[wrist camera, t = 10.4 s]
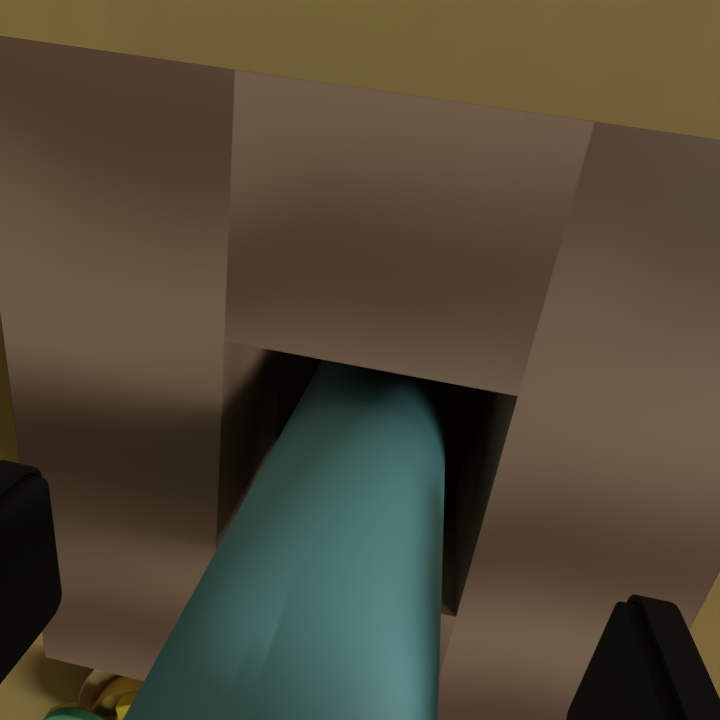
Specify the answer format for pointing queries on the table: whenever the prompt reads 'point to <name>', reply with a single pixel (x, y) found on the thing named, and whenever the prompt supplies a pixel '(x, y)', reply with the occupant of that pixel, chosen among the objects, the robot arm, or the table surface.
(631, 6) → the table surface
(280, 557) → the peg
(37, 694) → the table surface
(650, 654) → the robot arm
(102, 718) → the toy food set
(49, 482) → the socket block
